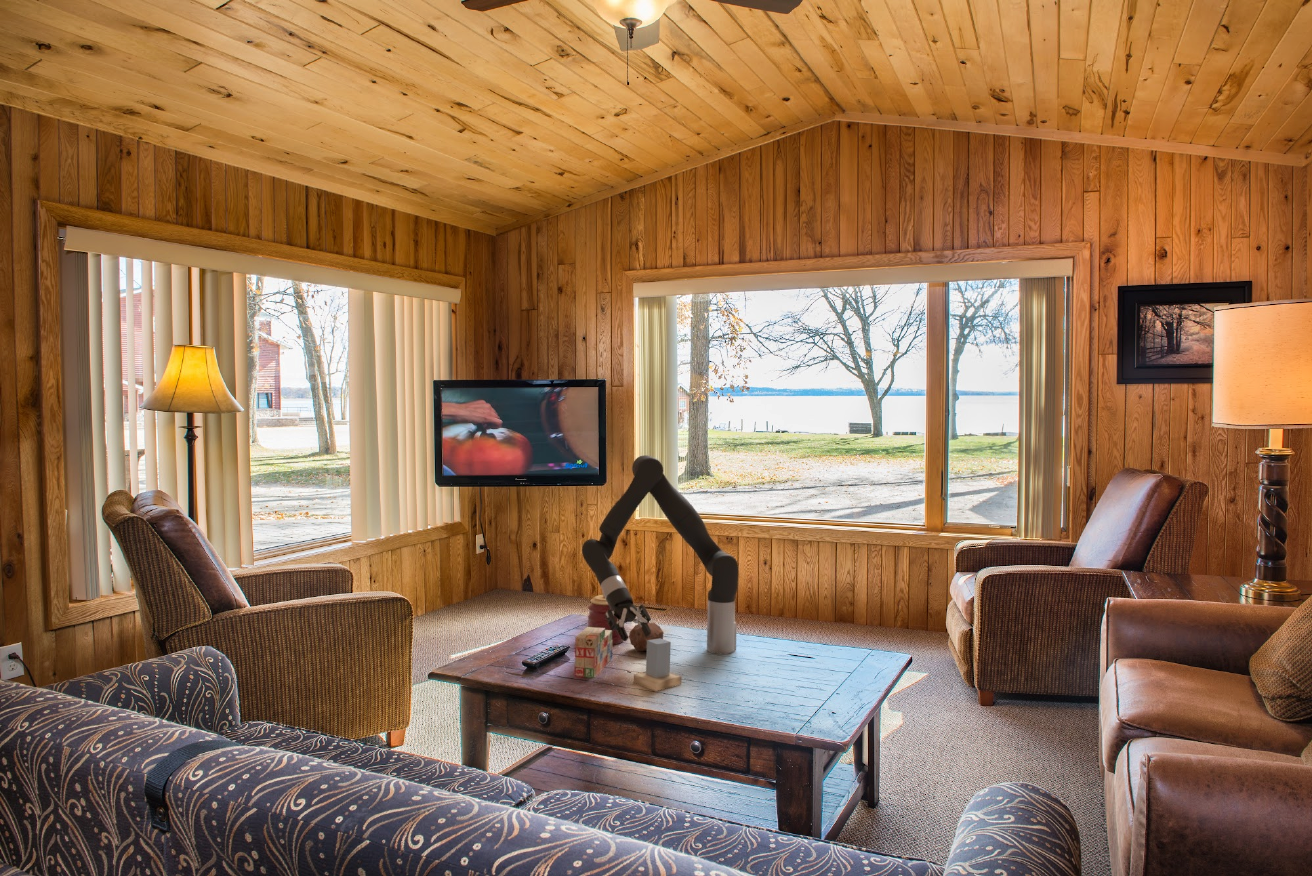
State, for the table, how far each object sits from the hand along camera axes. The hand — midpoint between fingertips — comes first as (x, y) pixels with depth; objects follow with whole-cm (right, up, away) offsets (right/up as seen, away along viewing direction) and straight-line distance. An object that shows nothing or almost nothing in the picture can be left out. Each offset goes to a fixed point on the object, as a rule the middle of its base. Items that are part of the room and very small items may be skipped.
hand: (637, 637), depth 254 cm
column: (+6, -9, -7) cm, 13 cm away
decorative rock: (+2, -11, +26) cm, 29 cm away
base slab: (+6, -12, -8) cm, 16 cm away
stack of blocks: (-14, -11, +7) cm, 19 cm away
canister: (-12, -10, +38) cm, 41 cm away
